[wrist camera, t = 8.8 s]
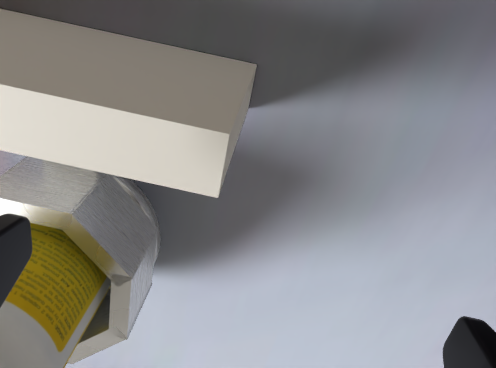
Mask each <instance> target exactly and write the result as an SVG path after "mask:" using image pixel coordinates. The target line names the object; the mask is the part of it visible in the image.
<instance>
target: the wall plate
mask: <svg viewBox="0 0 496 368" xmlns="http://www.w3.org/2000/svg"><path fill="white" fill-rule="evenodd" d="M256 68H257V64H253V63H248V62H243V61H239V60H234V59H230V58H225V57H220V56H216V55H211V54H207V53H202V52H197V51H193V50H188V49H184V48H179V47H174V46H170V45H165V44H161V43H156V42H151V41H147V40H142V39H138V38H133V37H128V36H124V35H119V34H115V33H110V32H105V31H101V30H96V29H92V28H87V27H82V26H78V25H73V24H69V23H64V22H59V21H55V20H50V19H46V18H41V17H36V16H32V15H27V14H23V13H18V12H13V11H9V10H4V9H0V150H1V151H6V152H11V153H15V154H20V155H24V156H29V157H33V158H38V159H42V160H47V161H51V162H56V163H61V164H65V165H70V166H74V167H79V168H83V169H88V170H92V171H97V172H102V173H106V174H111V175H115V176H120V177H124V178H129V179H133V180H138V181H143V182H147V183H152V184H156V185H161V186H165V187H170V188H174V189H179V190H183V191H188V192H193V193H197V194H202V195H206V196H211V197H215V198H218V197H219V194H220V191H221V188H222V185H223V182H224V179H225V176H226V173H227V170H228V167H229V164H230V161H231V158H232V156H233V153H234V150H235V147H236V144H237V141H238V138H239V135H240V132H241V129H242V126H243V123H244V120H245V117H246V114H247V111H248V108H249V103H250V98H251V93H252V88H253V83H254V78H255V73H256Z"/></svg>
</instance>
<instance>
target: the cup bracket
mask: <svg viewBox="0 0 496 368" xmlns="http://www.w3.org/2000/svg"><path fill="white" fill-rule="evenodd" d="M7 213H11V214H16V215H20V216H25V217H27V218H28V219H29V221H30V223H34V224H39V225H43V226H48V227H52V228H57V229H61V230H63V231H64V232H65V233H66V234H67V235H68V236H69V237H70V238H71V239H72V240H73V241H74V243H75V244H76V245H77V246H78V247H79V248H80V249H81V250H82V251H83V252H84V253H85V254H86V255H87V256H88V257H89V258H90V259H91V260H92V261H93V262H94V263H95V264H96V265H97V266H98V267H99V268H100V269H101V270H102V271H103V272H104V273H105V275H106V276H107V277H108V278H109V279H110V280H111V287H110V289H109V291H108V292H107V294H106V296H105V298H104V299H103V301H102V303H101V305H100V306H99V308H98V310H97V311H96V313H95V315H94V317H93V319H92V320H91V322H90V324H89V325H88V327H87V329H86V331H85V332H84V334H83V336H82V337H81V339H80V341H79V343H78V344H77V346H76V348H75V350H74V351H73V353H72V355H71V357H70V358H69V360H68V362H67V363H70V364H74V363H75V362H78V361H80V360H82V359H84V358H86V357H88V356H91V355H93V354H95V353H97V352H99V351H101V350H104V349H106V348H108V347H110V346H112V345H115V344H117V343H119V342H121V341H123V340H125V339H126V340H127V339H128V337H129V335H130V332H131V330H132V328H133V326H134V324H135V321H136V319H137V317H138V315H139V312H140V310H141V308H142V306H143V303H144V301H145V299H146V297H147V295H148V292H149V290H150V288H151V286H152V277H153V267H154V264H155V262H156V259H157V257H158V254H159V250H160V245H161V233H160V226H159V222H158V219H157V216H156V213H155V211H154V209H153V207H152V205H151V203H150V202H149V200H148V198H147V197H146V196H145V194H144V193H143V192H142V190H141V189H140V188H139V187H138V186H137V185H136V184H135V183H134V182H133V181H132V180H131V179H129V178H124V177H120V176H115V175H111V174H106V173H102V172H97V171H92V170H88V169H83V168H79V167H74V166H70V165H65V164H61V163H56V162H51V161H47V160H42V159H38V158H33V157H29V156H27V157H25V158H24V159H23V160H21V161H20V162H19V163H17V164H16V165H15V166H13V167H12V168H11V169H9V170H8V171H7V172H5V173H4V174H3V175H1V176H0V216H1V215H4V214H7Z"/></svg>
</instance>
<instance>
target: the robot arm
mask: <svg viewBox="0 0 496 368" xmlns="http://www.w3.org/2000/svg"><path fill="white" fill-rule="evenodd" d="M31 254H32V237H31V226H30V221H29V219H28V218H27V217H25V216H20V215H16V214H11V213H7V214H4V215H1V216H0V308H1V306H2V305H3V303H4V301H5V300H6V298H7V296H8V295H9V293H10V291H11V290H12V288H13V286H14V285H15V283H16V281H17V280H18V278H19V276H20V275H21V273H22V271H23V270H24V268H25V266H26V265H27V263H28V261H29V259H30V257H31ZM443 362H444V368H496V332H495V331H494V330H493V329H492V328H491V327H490V326H489V325H488V324H487V323H486V322H484V321H482V320H480V319H475V318H471V317H466V316H463V317H461V318H459V319H458V321H457V322H456V324H455V326H454V328H453V329H452V331H451V333H450V335H449V336H448V338H447V340H446V342H445V344H444V347H443Z"/></svg>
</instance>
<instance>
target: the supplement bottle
mask: <svg viewBox="0 0 496 368" xmlns="http://www.w3.org/2000/svg"><path fill="white" fill-rule="evenodd" d="M30 226H31V237H32V254H31V257H30V259H29V261H28V263H27V265H26V266H25V268H24V270H23V271H22V273H21V275H20V276H19V278H18V280H17V281H16V283H15V285H14V286H13V288H12V290H11V291H10V293H9V295H8V296H7V298H6V300H5V301H4V303H3V305H2V306H1V308H0V368H64V367H65V366H66V364H67V362H68V360H69V358H70V357H71V355H72V353H73V351H74V350H75V348H76V346H77V344H78V343H79V341H80V339H81V337H82V336H83V334H84V332H85V331H86V329H87V327H88V325H89V324H90V322H91V320H92V319H93V317H94V315H95V313H96V311H97V310H98V308H99V306H100V305H101V303H102V301H103V299H104V298H105V296H106V294H107V292H108V291H109V289H110V287H111V280H110V279H109V278H108V277H107V276H106V275H105V273H104V272H103V271H102V270H101V269H100V268H99V267H98V266H97V265H96V264H95V263H94V262H93V261H92V260H91V259H90V258H89V257H88V256H87V255H86V254H85V253H84V252H83V251H82V250H81V249H80V248H79V247H78V246H77V245H76V244H75V243H74V241H73V240H72V239H71V238H70V237H69V236H68V235H67V234H66V233H65V232H64V231H63V230H61V229H57V228H52V227H48V226H43V225H39V224H34V223H30Z"/></svg>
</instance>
